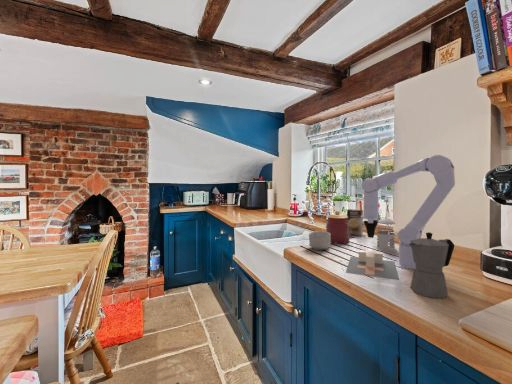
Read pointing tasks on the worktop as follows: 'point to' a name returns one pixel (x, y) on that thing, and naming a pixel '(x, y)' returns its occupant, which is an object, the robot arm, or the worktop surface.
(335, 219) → the canister
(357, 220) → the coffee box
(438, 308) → the worktop surface
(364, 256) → the t block
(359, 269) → the slate mat
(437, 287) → the coffeepot
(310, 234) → the teacup
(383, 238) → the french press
